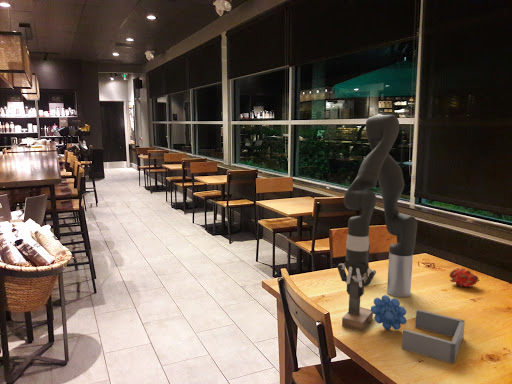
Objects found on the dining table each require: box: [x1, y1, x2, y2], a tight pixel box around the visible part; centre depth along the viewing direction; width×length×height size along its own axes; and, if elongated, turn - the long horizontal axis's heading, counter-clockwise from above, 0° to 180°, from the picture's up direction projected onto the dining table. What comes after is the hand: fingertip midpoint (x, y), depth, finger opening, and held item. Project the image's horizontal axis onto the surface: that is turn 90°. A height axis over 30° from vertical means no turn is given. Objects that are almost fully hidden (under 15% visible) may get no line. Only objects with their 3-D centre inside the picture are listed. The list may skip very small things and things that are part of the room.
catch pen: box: [401, 308, 466, 365], centre depth 129 cm, size 18×15×6 cm
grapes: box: [370, 294, 408, 331], centre depth 136 cm, size 12×7×12 cm, turn 74°
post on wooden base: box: [341, 277, 374, 333], centre depth 142 cm, size 12×7×15 cm, turn 147°
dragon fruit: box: [449, 267, 480, 289], centre depth 177 cm, size 8×8×12 cm
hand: (354, 294), depth 142 cm, fingers closed on post on wooden base, 3 cm apart
